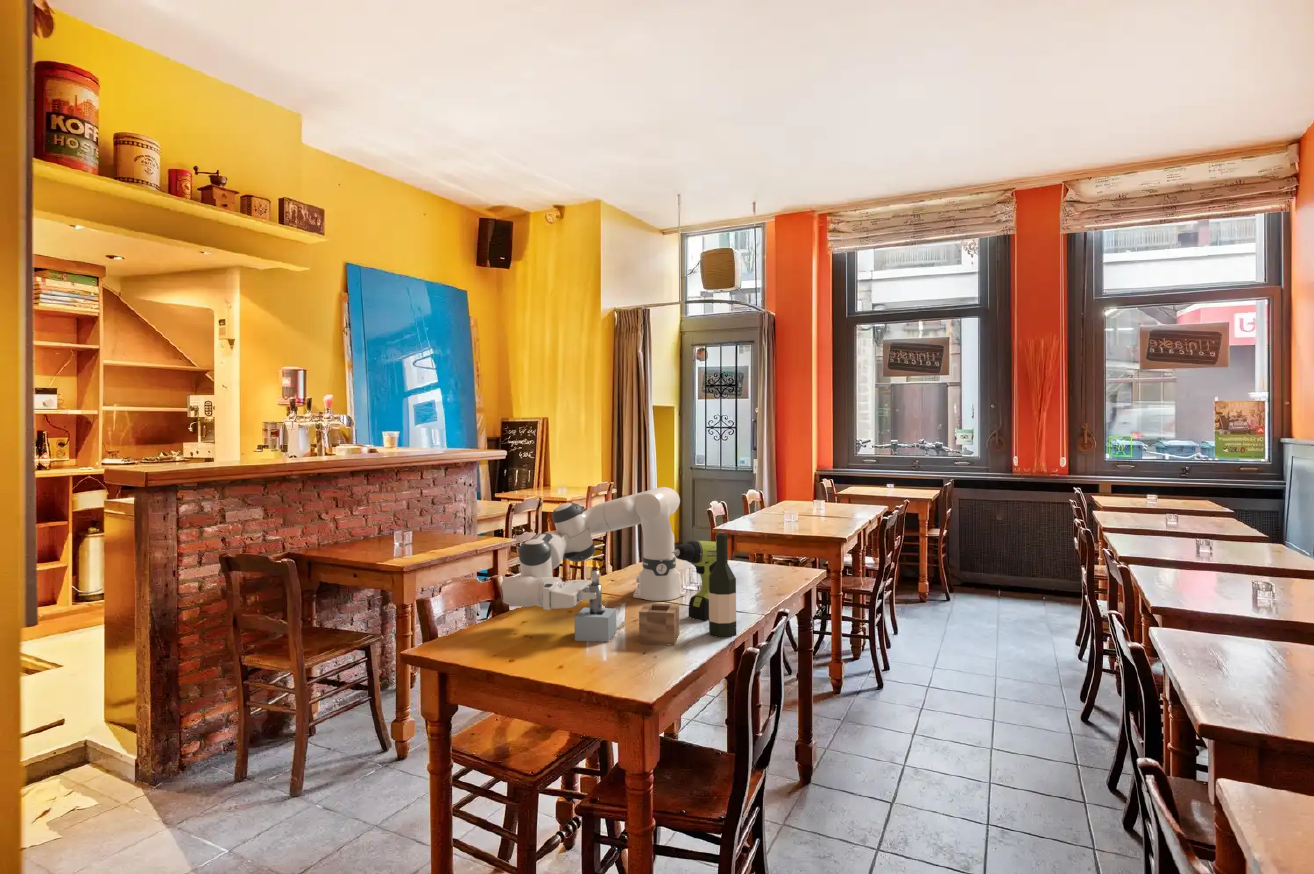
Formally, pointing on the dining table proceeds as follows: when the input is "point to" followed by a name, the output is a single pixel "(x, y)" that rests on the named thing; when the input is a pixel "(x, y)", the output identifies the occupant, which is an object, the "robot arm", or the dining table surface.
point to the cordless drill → (704, 561)
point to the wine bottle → (722, 593)
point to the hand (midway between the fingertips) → (598, 593)
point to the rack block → (659, 623)
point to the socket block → (595, 625)
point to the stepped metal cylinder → (596, 603)
